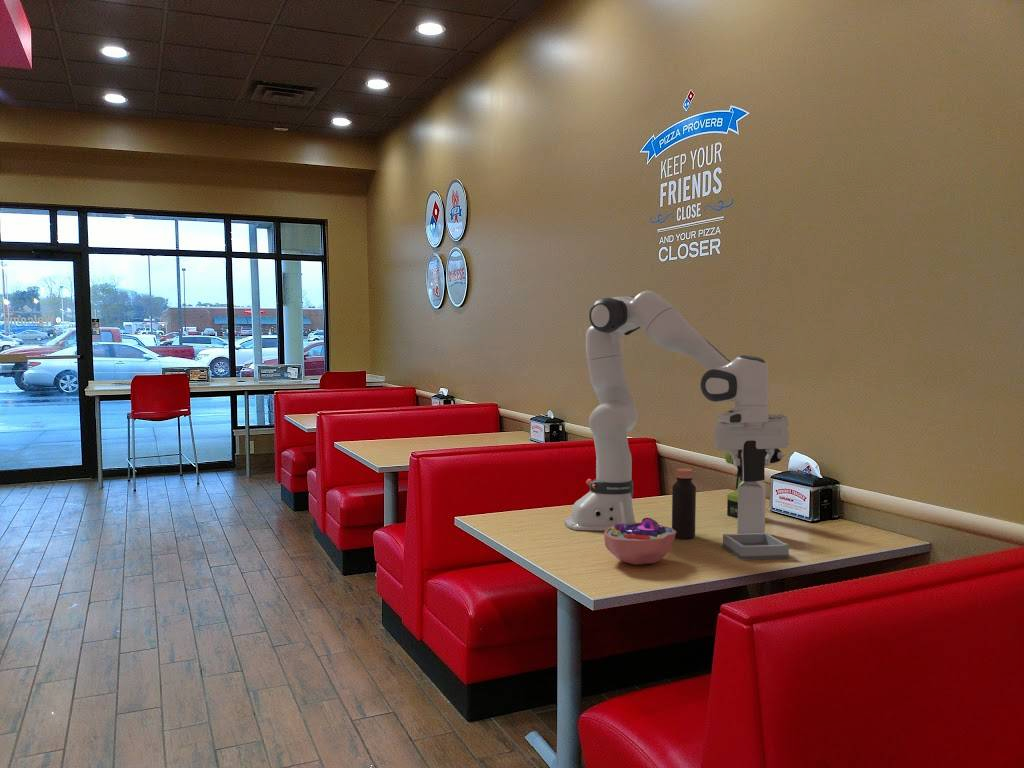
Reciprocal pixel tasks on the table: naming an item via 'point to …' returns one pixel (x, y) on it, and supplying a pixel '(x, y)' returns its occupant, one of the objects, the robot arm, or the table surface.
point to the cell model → (639, 541)
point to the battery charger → (752, 462)
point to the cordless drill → (733, 496)
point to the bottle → (684, 504)
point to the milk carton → (751, 507)
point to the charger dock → (755, 546)
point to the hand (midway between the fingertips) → (751, 465)
